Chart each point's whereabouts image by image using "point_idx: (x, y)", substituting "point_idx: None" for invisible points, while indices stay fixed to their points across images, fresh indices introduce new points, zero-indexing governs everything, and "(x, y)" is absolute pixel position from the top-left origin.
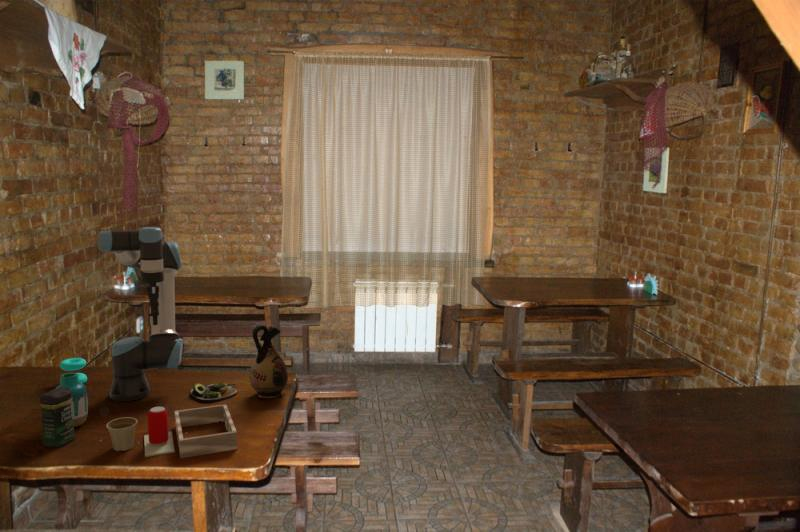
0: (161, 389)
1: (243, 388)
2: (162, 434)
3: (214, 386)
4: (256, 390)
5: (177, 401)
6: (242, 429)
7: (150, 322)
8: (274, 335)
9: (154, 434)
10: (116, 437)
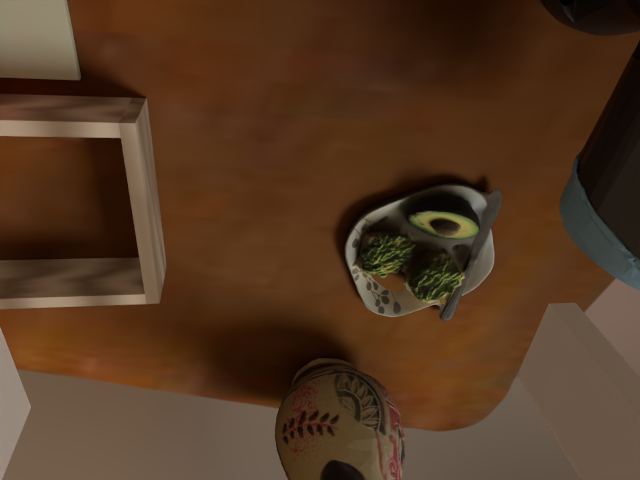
0: (587, 81)
1: (417, 329)
2: None
3: (432, 269)
4: (310, 374)
5: (417, 130)
6: None
7: (566, 325)
8: None
9: None
10: None
